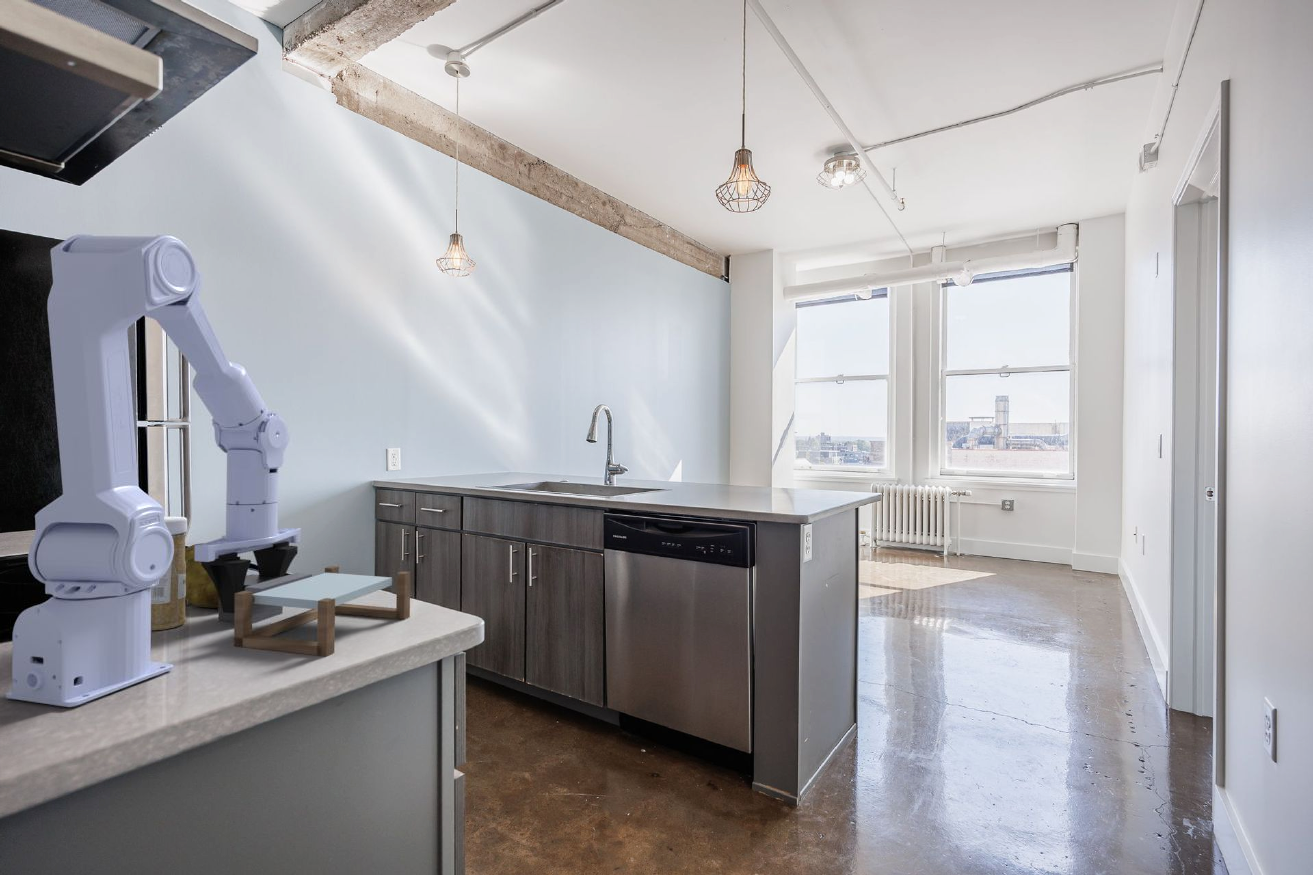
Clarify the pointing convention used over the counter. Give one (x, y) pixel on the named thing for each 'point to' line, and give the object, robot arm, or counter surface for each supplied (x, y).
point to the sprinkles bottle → (171, 582)
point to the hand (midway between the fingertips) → (251, 606)
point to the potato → (199, 582)
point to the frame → (323, 613)
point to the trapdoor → (315, 589)
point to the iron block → (258, 610)
